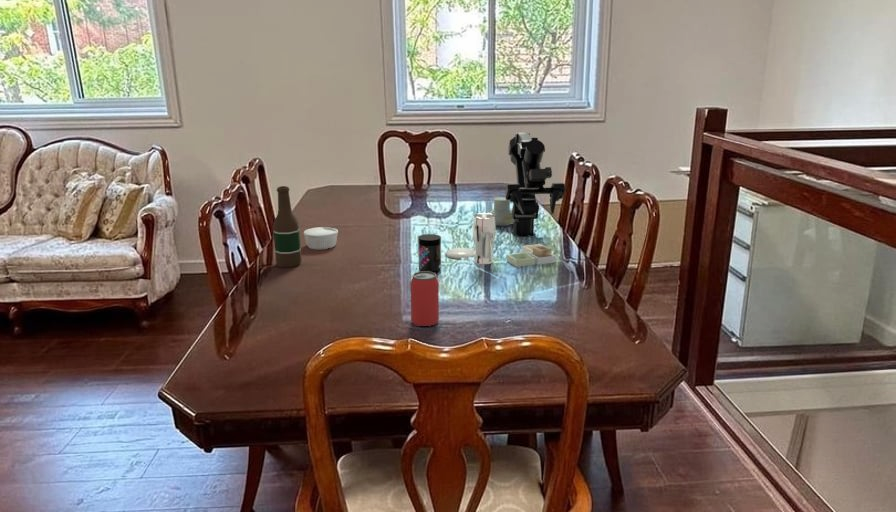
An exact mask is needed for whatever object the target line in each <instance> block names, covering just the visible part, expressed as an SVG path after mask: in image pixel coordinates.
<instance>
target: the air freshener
mask: <svg viewBox="0 0 896 512" xmlns="http://www.w3.org/2000/svg"><path fill="white" fill-rule="evenodd" d="M493 201H494V202H493V209H491V210H490V211H488V213H489V214H494V215H495V224H496V226H497V227H508V226H509V225H513V222H514V220H515V219H513V217H512V209H511V208H510V205H511V204H510V203H511V202H510V200H506V198H505V196H504V197H501V196H499V197H495V198H494V200H493Z"/></svg>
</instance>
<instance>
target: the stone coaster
mask: <svg viewBox="0 0 896 512" xmlns="http://www.w3.org/2000/svg"><path fill="white" fill-rule="evenodd" d="M445 256H446V257H448V258H451V259H455V260H462V259H464V258H465V259H466V258H472V257H475V249H471V248H467V247H457V248H456V247H455V248H451V249H448V250H446V251H445Z"/></svg>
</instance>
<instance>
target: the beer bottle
mask: <svg viewBox="0 0 896 512" xmlns="http://www.w3.org/2000/svg"><path fill="white" fill-rule="evenodd" d="M276 192H277V207H278V208H277V215H276V217H275V218H274V221H273V226H272V228H273V230H272V231H273V241H274V255H275V264H276V266H278V267H281V268H286V269H287V268H295V267H298V266H300V265H301V263H302V247H301V235H300V225H299V223H300V222H299V221H298V219H297V217H296V215H295V214H294V213H293V211H292V204H291V197H290V187H289V186H285V185H282V186H278V187H277V188H276Z"/></svg>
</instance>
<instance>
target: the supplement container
mask: <svg viewBox="0 0 896 512" xmlns="http://www.w3.org/2000/svg"><path fill="white" fill-rule="evenodd" d="M417 243H418V244H417V245H418V250H417V251H418V270H419V271H418V272H420V271H429V272H433V273H435V274H438V273H440V272H441V270H442V236H441V235H439V234H434V233H425V234H421V235H418V237H417Z"/></svg>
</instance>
